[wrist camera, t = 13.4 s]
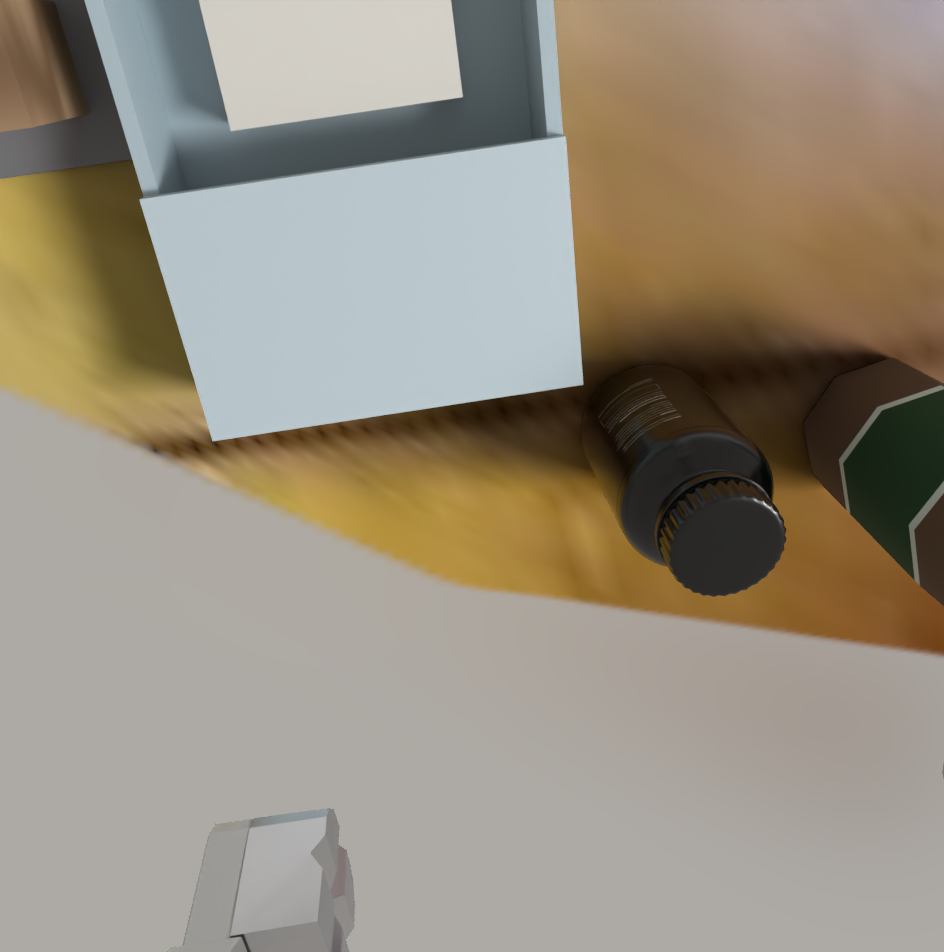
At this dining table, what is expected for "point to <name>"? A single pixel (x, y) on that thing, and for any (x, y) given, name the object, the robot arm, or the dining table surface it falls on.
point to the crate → (351, 200)
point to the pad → (78, 136)
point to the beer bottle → (887, 461)
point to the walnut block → (36, 67)
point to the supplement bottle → (683, 480)
